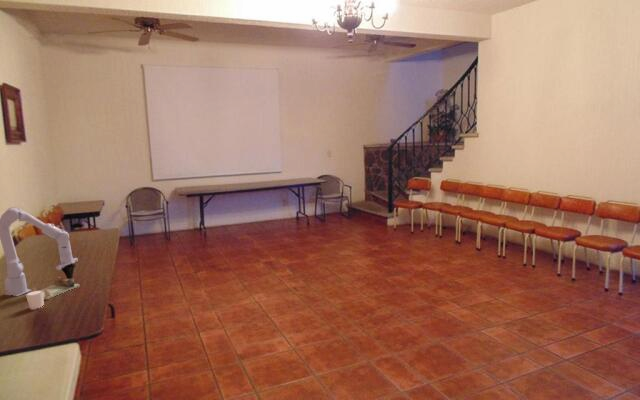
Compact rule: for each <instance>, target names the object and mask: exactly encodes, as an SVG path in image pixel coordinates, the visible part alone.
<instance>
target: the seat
mask: <svg viewBox="0 0 640 400" xmlns="http://www.w3.org/2000/svg"><path fill="white" fill-rule="evenodd" d="M57 278H63V277H62V276H58V277H57ZM77 287H78V288H80V287H81V285H80V284H79V283H75V285H74V286H72V287H69V286H60V285H55V284H53V285H49V286H48V287H45V288H42V289H41V290H42V291H43V297H44V300H47V299H49V298H51V297H54V296H56V295H58V296H60V295H59V294H61V293H63V294H65V293H64V292H66V291H68V290H70V291H72V290H71V289H73V290H75V289H78V288H77ZM74 288H75V289H74ZM30 290H32V291H31V292H33V291H38V290H37V286H35V287H31V289H30ZM68 292H69V291H68ZM66 293H67V292H66ZM61 295H62V294H61ZM56 297H57V296H56ZM54 298H55V297H54ZM51 299H52V298H51ZM49 300H50V299H49Z"/></svg>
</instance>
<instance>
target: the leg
mask: <svg viewBox="0 0 640 400" xmlns="http://www.w3.org/2000/svg"><path fill="white" fill-rule="evenodd" d="M53 279H54V285H60V286H69V287H72V286H74V285H75V284H76V283H75V279H74V278H71V279H67V278H64V277H62V278H58V277H56V278H53Z"/></svg>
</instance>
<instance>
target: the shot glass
mask: <svg viewBox="0 0 640 400" xmlns="http://www.w3.org/2000/svg"><path fill="white" fill-rule="evenodd" d="M25 297H26V300H27V304H28V306H29V307H28V308H29V310H37V308H39V309H41V308H43V307H44V306H45V301H44V300H45V299H44V297H43V291H42V289H40V290H39V289H38V290H37V291H33V292H32V291H29V292H27V293H25ZM43 305H44V306H43ZM42 306H43V307H42ZM40 307H41V308H40Z"/></svg>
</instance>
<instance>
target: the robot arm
mask: <svg viewBox="0 0 640 400" xmlns="http://www.w3.org/2000/svg"><path fill="white" fill-rule="evenodd" d="M16 221H18V222H27V223H28V224H30V225H32V226H34V227H36V228H38V229H40V230H41V232H42V233H43V234H44V235H46V236H48V237H49V238H51V239H54V240H56V243H57V244H58V245H57V248H58V253H59V258H60V263H59V264H58V265H56V266H55V269H56V271H60V270H62V272H63V273H64V276H65V277H66V279H73V275H74V270H75V267H76V264H75V263H76V262H78V261H79V259H78V257H73V254H72V253H73V252H72V251H73V250H72V246H71V242H70V234H69V232H67V230H64V229H63V228H61V229H60V228H58V227H57V226H55V224H54V223H49V222H48V223H45V222H44V221H42V220H40V219H39V218H37V217H35V216H33V215H32V214H30V213H29V212H27V211H25V210H24V209H20V208H19V207H16V206H11V207H9V208H8V209H7V210H5V212H4V213H2V214H1V216H0V243H1V246H2V249H3V253H4V255H5V261H6V267H7V268H6V276H7V277H6V278H5V280H4V287H5V292H6V293H4V295H5V296H11V295H13V296H12V297H19V296H22V295H24V294H27V293H29V292H32V290H31V289H29V288H28V285H27V280H26V273H24V272H23V271H24V268H25V267H24V264H23V263H22V262H21V261H20V259H19V257H18V253H17V249H16V246H15V242H14V240H13V236H12V233H11V229H10V227H11V226H12V224H13V223H15V222H16Z"/></svg>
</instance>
